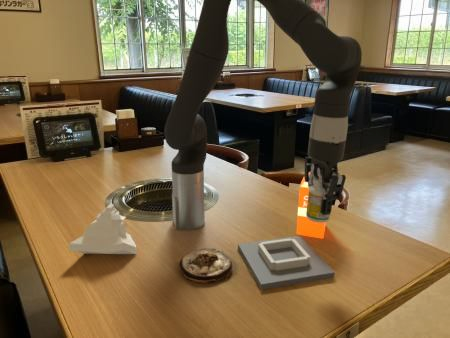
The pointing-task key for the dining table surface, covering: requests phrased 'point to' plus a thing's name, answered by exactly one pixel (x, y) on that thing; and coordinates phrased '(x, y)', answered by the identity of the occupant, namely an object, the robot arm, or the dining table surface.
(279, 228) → the dining table surface
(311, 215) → the supplement bottle
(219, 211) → the dining table surface
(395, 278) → the dining table surface
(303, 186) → the orange juice
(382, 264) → the dining table surface
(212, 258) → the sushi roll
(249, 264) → the socket board
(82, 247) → the white jagged pyramid
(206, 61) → the robot arm
